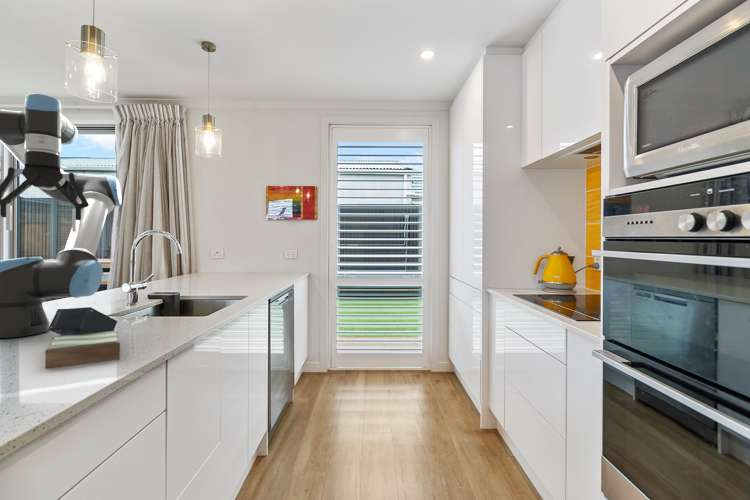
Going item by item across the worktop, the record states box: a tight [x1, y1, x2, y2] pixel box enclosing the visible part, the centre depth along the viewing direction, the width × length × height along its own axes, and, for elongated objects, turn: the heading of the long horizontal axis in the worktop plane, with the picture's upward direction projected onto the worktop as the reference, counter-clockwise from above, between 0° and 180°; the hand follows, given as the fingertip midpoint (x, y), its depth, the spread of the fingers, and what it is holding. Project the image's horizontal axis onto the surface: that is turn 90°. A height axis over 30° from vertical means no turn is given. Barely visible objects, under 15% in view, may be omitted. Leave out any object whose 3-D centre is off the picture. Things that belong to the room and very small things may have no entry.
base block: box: [44, 330, 121, 369], centre depth 99 cm, size 16×14×4 cm
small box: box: [48, 306, 118, 336], centre depth 109 cm, size 11×6×10 cm
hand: (42, 231), depth 107 cm, fingers open, 13 cm apart
